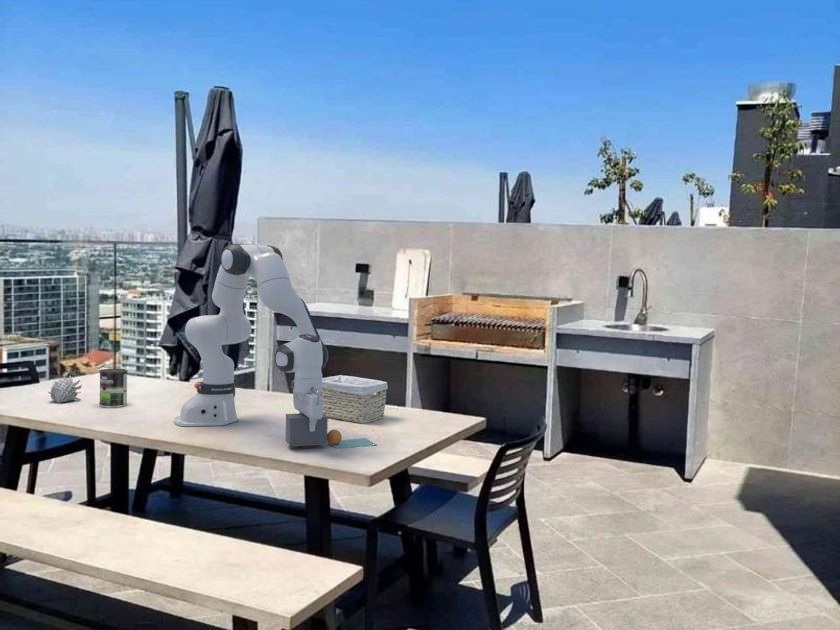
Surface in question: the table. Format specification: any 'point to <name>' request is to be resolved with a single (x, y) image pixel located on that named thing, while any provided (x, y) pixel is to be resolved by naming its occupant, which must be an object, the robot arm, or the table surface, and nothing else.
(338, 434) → the ball
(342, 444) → the teal flat pad
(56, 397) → the sea urchin
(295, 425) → the slate gray brick
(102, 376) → the coffee can
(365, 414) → the storage basket
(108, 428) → the table surface
